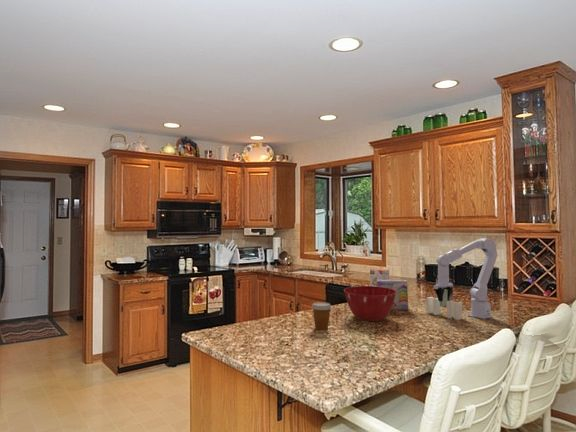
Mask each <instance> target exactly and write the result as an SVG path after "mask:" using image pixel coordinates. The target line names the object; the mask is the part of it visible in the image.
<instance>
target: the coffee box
mask: <svg viewBox="0 0 576 432" xmlns="http://www.w3.org/2000/svg"><path fill="white" fill-rule="evenodd" d="M449 283H452V284H453V285H454V283H453V279H452V278H450V277H449ZM437 284H438V277H437V278H435V285H437ZM450 288H453V290H452V292H451V294H450V297H449V300H448V301H452V300H453V301H454V293H453V291H454V286H453V287H450ZM442 289H443V288H442ZM435 298H438V297H437V294H436V293H435Z"/></svg>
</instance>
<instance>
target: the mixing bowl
mask: <svg viewBox="0 0 576 432" xmlns="http://www.w3.org/2000/svg"><path fill="white" fill-rule="evenodd" d="M343 292H344V295H345V299H346V301H347V305H348V307H349V310H350V311H351V313H352V314H353V316H354V317H356V318H357V319H358V320H360V321H363V322H364V321H365V322H378V321H382V320H383V319H385V318H386V317H387V316H388V315H389V314H390V311H391V310H392V309H391V307H392V305H393V302H394V299H395V295H396V293H397V292H396V291H395V290H393V289H390V288H384V287H375V286H370V285H364V286H363V285H361V286H360V285H357V286H350V287H346V288H344V289H343Z"/></svg>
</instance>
